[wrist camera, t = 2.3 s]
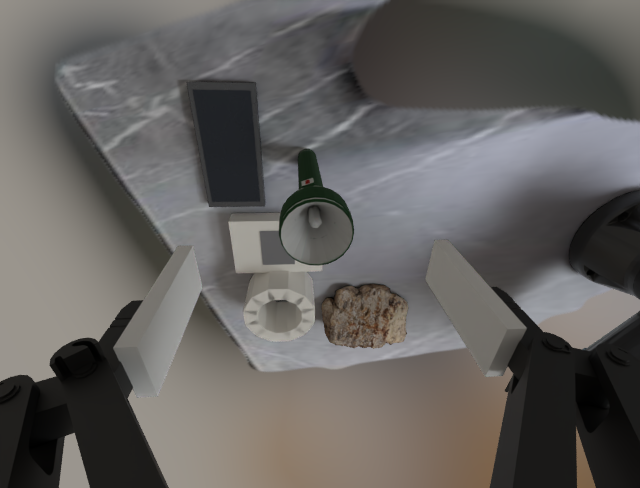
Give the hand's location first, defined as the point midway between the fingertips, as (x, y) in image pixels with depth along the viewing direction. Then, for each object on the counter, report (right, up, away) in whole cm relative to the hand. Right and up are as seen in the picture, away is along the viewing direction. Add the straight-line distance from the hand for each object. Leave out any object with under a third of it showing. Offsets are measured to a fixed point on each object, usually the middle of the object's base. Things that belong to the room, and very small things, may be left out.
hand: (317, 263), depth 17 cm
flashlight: (-1, +12, +20) cm, 24 cm away
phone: (-10, +12, +19) cm, 25 cm away
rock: (+8, -10, +34) cm, 36 cm away
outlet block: (-6, -2, +28) cm, 29 cm away
